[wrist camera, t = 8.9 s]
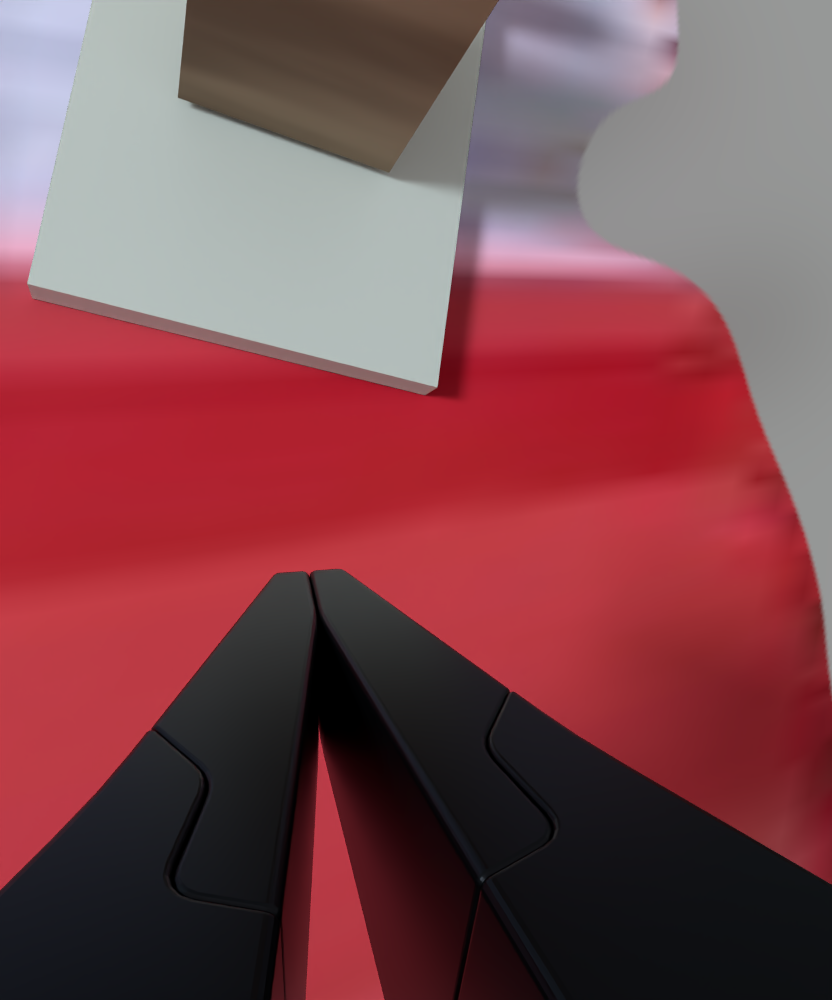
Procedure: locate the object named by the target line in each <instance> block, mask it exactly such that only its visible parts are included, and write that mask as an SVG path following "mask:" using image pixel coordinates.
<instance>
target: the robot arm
mask: <svg viewBox="0 0 832 1000" xmlns="http://www.w3.org/2000/svg"><path fill="white" fill-rule="evenodd" d="M319 732H320V739H321V744H322V748H323V753H324V757H325V761H326V765H327V769H328V773H329V777H330V782H331V786H332V790H333V794H334V798H335V802H336V806H337V810H338V814H339V818H340V822H341V826H342V830H343V834H344V838H345V842H346V846H347V850H348V854H349V858H350V862H351V866H352V870H353V874H354V878H355V882H356V886H357V890H358V894H359V898H360V902H361V906H362V910H363V914H364V918H365V923H366V927H367V931H368V935H369V939H370V943H371V947H372V951H373V955H374V959H375V963H376V967H377V971H378V975H379V979H380V983H381V987H382V991H383V995H384V999H385V1000H832V885H831V884H830V883H828V882H826V881H824V880H823V879H821V878H819V877H818V876H816V875H814V874H812V873H811V872H809V871H807V870H805V869H804V868H802V867H800V866H799V865H797V864H795V863H793V862H792V861H790V860H788V859H787V858H785V857H783V856H781V855H780V854H778V853H776V852H775V851H773V850H771V849H769V848H768V847H766V846H764V845H763V844H761V843H759V842H757V841H756V840H754V839H752V838H751V837H749V836H747V835H745V834H744V833H742V832H740V831H739V830H737V829H735V828H733V827H732V826H730V825H728V824H727V823H725V822H723V821H721V820H720V819H718V818H716V817H715V816H713V815H711V814H709V813H708V812H706V811H704V810H703V809H701V808H699V807H697V806H696V805H694V804H692V803H690V802H689V801H687V800H685V799H684V798H682V797H680V796H678V795H677V794H675V793H673V792H672V791H670V790H668V789H666V788H665V787H663V786H661V785H660V784H658V783H656V782H654V781H653V780H651V779H649V778H648V777H646V776H644V775H642V774H641V773H639V772H637V771H636V770H634V769H632V768H630V767H629V766H627V765H625V764H624V763H622V762H620V761H619V760H617V759H615V758H614V757H612V756H610V755H609V754H607V753H606V752H604V751H602V750H601V749H599V748H597V747H596V746H594V745H592V744H591V743H589V742H588V741H586V740H584V739H583V738H581V737H579V736H578V735H576V734H575V733H573V732H572V731H570V730H569V729H567V728H566V727H564V726H563V725H561V724H560V723H558V722H557V721H555V720H554V719H553V718H551V717H550V716H548V715H547V714H545V713H544V712H542V711H541V710H539V709H538V708H536V707H535V706H534V705H532V704H531V703H529V702H528V701H527V700H525V699H524V698H522V697H521V696H520V695H518V694H517V693H515V692H510V691H509V689H508V688H507V687H505V686H504V685H502V684H501V683H500V682H498V681H497V680H496V679H494V678H493V677H491V676H490V675H489V674H487V673H486V672H484V671H483V670H482V669H480V668H479V667H478V666H476V665H475V664H473V663H472V662H471V661H469V660H468V659H466V658H465V657H464V656H462V655H461V654H459V653H458V652H457V651H455V650H454V649H453V648H451V647H450V646H448V645H447V644H446V643H444V642H443V641H441V640H440V639H439V638H437V637H436V636H435V635H433V634H432V633H430V632H429V631H428V630H426V629H425V628H423V627H422V626H421V625H419V624H418V623H416V622H415V621H414V620H412V619H411V618H410V617H408V616H407V615H405V614H404V613H403V612H401V611H400V610H398V609H397V608H396V607H394V606H393V605H392V604H390V603H389V602H387V601H386V600H385V599H383V598H382V597H380V596H379V595H378V594H376V593H375V592H373V591H372V590H371V589H369V588H368V587H367V586H365V585H364V584H362V583H361V582H360V581H358V580H357V579H355V578H354V577H353V576H351V575H350V574H349V573H347V572H346V571H344V570H342V569H330V570H316V571H313V572H312V573H311V574H310V577H309V575H308V574H307V573H306V572H303V571H300V572H285V573H277V574H275V575H274V576H273V577H272V578H271V579H270V580H269V582H268V583H267V584H266V585H265V587H264V588H263V589H262V591H261V592H260V593H259V594H258V596H257V597H256V598H255V599H254V601H253V602H252V603H251V604H250V606H249V607H248V608H247V609H246V611H245V612H244V613H243V614H242V616H241V617H240V618H239V619H238V621H237V622H236V623H235V624H234V626H233V627H232V628H231V629H230V631H229V632H228V633H227V634H226V636H225V637H224V638H223V639H222V641H221V642H220V643H219V644H218V646H217V647H216V648H215V649H214V651H213V652H212V653H211V654H210V656H209V657H208V658H207V659H206V661H205V662H204V663H203V664H202V666H201V667H200V668H199V669H198V671H197V672H196V673H195V674H194V676H193V677H192V678H191V679H190V681H189V682H188V683H187V684H186V686H185V687H184V688H183V689H182V691H181V692H180V693H179V695H178V696H177V697H176V698H175V700H174V701H173V702H172V703H171V705H170V706H169V707H168V708H167V710H166V711H165V712H164V713H163V715H162V716H161V717H160V718H159V720H158V721H157V722H156V723H155V725H154V726H153V727H152V729H151V730H150V731H148V732H147V733H146V734H145V735H144V737H143V738H142V739H141V740H140V742H139V743H138V744H137V745H136V747H135V748H134V749H133V750H132V752H131V753H130V754H129V755H128V756H127V758H126V759H125V760H124V761H123V762H122V763H121V765H120V766H119V767H118V768H117V769H116V770H115V772H114V773H113V774H112V775H111V776H110V777H109V779H108V780H107V781H106V782H105V783H104V784H103V786H102V787H101V788H100V789H99V790H98V791H97V793H96V794H95V795H94V796H93V797H92V798H91V799H90V800H89V801H88V802H87V803H86V804H85V805H84V806H83V807H82V808H81V809H80V810H79V811H78V812H77V813H76V814H75V816H74V817H73V818H72V819H71V820H70V821H69V822H68V823H67V824H66V825H65V826H64V827H63V828H62V829H61V830H60V831H59V832H58V833H57V834H56V835H55V836H54V837H53V838H52V839H51V840H50V841H49V842H48V843H47V844H46V845H45V846H44V847H43V848H42V849H41V850H40V851H39V852H38V853H37V854H36V855H35V856H34V857H33V858H32V859H31V860H30V861H29V862H28V863H27V864H26V865H25V866H24V867H23V868H22V869H21V870H20V871H19V872H18V873H17V874H16V875H15V876H14V877H13V878H12V879H11V880H10V881H9V882H8V883H7V884H6V885H5V886H4V887H3V888H2V889H1V890H0V1000H305V998H306V979H307V960H308V941H309V922H310V903H311V885H312V866H313V847H314V828H315V809H316V790H317V771H318V743H319Z"/></svg>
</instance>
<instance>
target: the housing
mask: <svg viewBox="0 0 832 1000" xmlns="http://www.w3.org/2000/svg"><path fill="white" fill-rule="evenodd" d="M186 4H187V0H92V4H91V8H90V12H89V17H88V21H87V25H86V30H85V34H84V38H83V43H82V47H81V52H80V56H79V60H78V65H77V69H76V73H75V78H74V82H73V87H72V91H71V95H70V100H69V104H68V108H67V113H66V117H65V121H64V126H63V130H62V135H61V139H60V143H59V148H58V152H57V156H56V161H55V165H54V169H53V174H52V178H51V183H50V187H49V191H48V196H47V200H46V204H45V209H44V213H43V217H42V222H41V226H40V231H39V235H38V239H37V244H36V248H35V252H34V257H33V261H32V265H31V270H30V274H29V279H28V283H27V284H28V287H29V290H30V293H31V295H32V298H33V299H37V300H41V301H45V302H49V303H53V304H57V305H62V306H66V307H70V308H74V309H78V310H82V311H86V312H90V313H94V314H98V315H102V316H106V317H110V318H114V319H118V320H122V321H126V322H130V323H134V324H138V325H143V326H147V327H151V328H155V329H159V330H163V331H167V332H171V333H175V334H179V335H183V336H187V337H191V338H195V339H199V340H203V341H207V342H211V343H215V344H219V345H224V346H228V347H232V348H236V349H240V350H244V351H248V352H252V353H256V354H260V355H264V356H268V357H272V358H276V359H280V360H284V361H288V362H292V363H296V364H300V365H305V366H309V367H313V368H317V369H321V370H325V371H329V372H333V373H337V374H341V375H345V376H349V377H353V378H357V379H361V380H365V381H369V382H373V383H377V384H381V385H385V386H390V387H394V388H398V389H402V390H406V391H410V392H414V393H418V394H422V395H426V394H428V393H429V392H431V391H432V390H434V389H436V388H437V387H438V379H439V371H440V364H441V356H442V349H443V341H444V334H445V326H446V318H447V311H448V303H449V296H450V288H451V281H452V273H453V266H454V258H455V250H456V243H457V235H458V228H459V220H460V213H461V205H462V197H463V190H464V182H465V175H466V167H467V160H468V152H469V144H470V137H471V129H472V122H473V114H474V107H475V99H476V92H477V84H478V76H479V69H480V61H481V54H482V46H483V39H484V31H485V23H486V21H485V23H484V24H483V26H482V27H481V29H480V31H479V32H478V34H477V35H476V37H475V38H474V40H473V42H472V43H471V45H470V46H469V48H468V49H467V51H466V53H465V54H464V56H463V57H462V59H461V60H460V62H459V64H458V65H457V67H456V68H455V70H454V71H453V73H452V75H451V76H450V78H449V79H448V81H447V82H446V84H445V86H444V87H443V89H442V90H441V92H440V94H439V95H438V97H437V98H436V100H435V101H434V103H433V105H432V106H431V108H430V109H429V111H428V112H427V114H426V116H425V117H424V119H423V120H422V122H421V123H420V125H419V127H418V128H417V130H416V131H415V133H414V134H413V136H412V138H411V139H410V141H409V142H408V144H407V145H406V147H405V149H404V150H403V152H402V153H401V155H400V156H399V158H398V160H397V161H396V163H395V164H394V166H393V168H392V169H391V171H390V172H389V173H388V172H386V171H383V170H380V169H377V168H374V167H372V166H369V165H366V164H363V163H360V162H357V161H355V160H352V159H349V158H346V157H343V156H341V155H338V154H335V153H332V152H329V151H326V150H324V149H321V148H318V147H315V146H312V145H310V144H307V143H304V142H301V141H298V140H295V139H293V138H290V137H287V136H284V135H281V134H279V133H276V132H273V131H270V130H267V129H264V128H262V127H259V126H256V125H253V124H250V123H248V122H245V121H242V120H239V119H236V118H233V117H231V116H228V115H225V114H222V113H219V112H217V111H214V110H211V109H208V108H205V107H202V106H200V105H197V104H194V103H191V102H188V101H186V100H183V99H180V98H178V89H179V78H180V68H181V57H182V46H183V36H184V25H185V15H186Z"/></svg>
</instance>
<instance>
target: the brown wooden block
mask: <svg viewBox="0 0 832 1000" xmlns="http://www.w3.org/2000/svg"><path fill="white" fill-rule="evenodd" d="M498 1H499V0H187V4H186V15H185V25H184V36H183V46H182V57H181V68H180V78H179V89H178V98H180V99H183V100H186V101H188V102H191V103H194V104H197V105H200V106H202V107H205V108H208V109H211V110H214V111H217V112H219V113H222V114H225V115H228V116H231V117H233V118H236V119H239V120H242V121H245V122H248V123H250V124H253V125H256V126H259V127H262V128H264V129H267V130H270V131H273V132H276V133H279V134H281V135H284V136H287V137H290V138H293V139H295V140H298V141H301V142H304V143H307V144H310V145H312V146H315V147H318V148H321V149H324V150H326V151H329V152H332V153H335V154H338V155H341V156H343V157H346V158H349V159H352V160H355V161H357V162H360V163H363V164H366V165H369V166H372V167H374V168H377V169H380V170H383V171H386V172H388V173H389V172H390V171H391V169H392V168H393V166H394V164H395V163H396V161H397V160H398V158H399V156H400V155H401V153H402V152H403V150H404V149H405V147H406V145H407V144H408V142H409V141H410V139H411V138H412V136H413V134H414V133H415V131H416V130H417V128H418V127H419V125H420V123H421V122H422V120H423V119H424V117H425V116H426V114H427V112H428V111H429V109H430V108H431V106H432V105H433V103H434V101H435V100H436V98H437V97H438V95H439V94H440V92H441V90H442V89H443V87H444V86H445V84H446V82H447V81H448V79H449V78H450V76H451V75H452V73H453V71H454V70H455V68H456V67H457V65H458V64H459V62H460V60H461V59H462V57H463V56H464V54H465V53H466V51H467V49H468V48H469V46H470V45H471V43H472V42H473V40H474V38H475V37H476V35H477V34H478V32H479V31H480V29H481V27H482V26H483V24H484V23H485V21H486V20H487V18H488V16H489V15H490V13H491V12H492V10H493V8H494V7H495V5H496V4H497V2H498Z"/></svg>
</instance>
